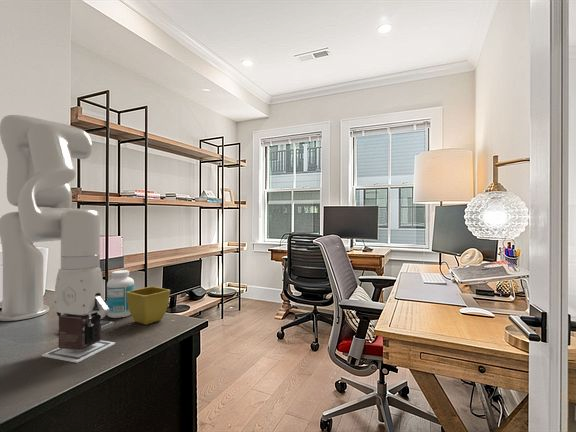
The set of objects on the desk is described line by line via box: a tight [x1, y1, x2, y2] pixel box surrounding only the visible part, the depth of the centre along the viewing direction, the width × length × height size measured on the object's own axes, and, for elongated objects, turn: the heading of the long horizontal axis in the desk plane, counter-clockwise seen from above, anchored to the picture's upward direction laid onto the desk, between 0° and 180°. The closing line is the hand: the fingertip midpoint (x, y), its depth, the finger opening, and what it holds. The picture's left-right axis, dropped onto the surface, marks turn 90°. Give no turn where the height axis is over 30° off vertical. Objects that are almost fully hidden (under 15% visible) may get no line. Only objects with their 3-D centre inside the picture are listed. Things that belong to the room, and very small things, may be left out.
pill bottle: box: [106, 269, 135, 319], centre depth 96 cm, size 8×7×14 cm
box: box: [58, 310, 102, 350], centre depth 72 cm, size 6×6×7 cm
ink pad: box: [57, 320, 115, 335], centre depth 84 cm, size 9×9×1 cm
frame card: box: [41, 339, 116, 363], centre depth 72 cm, size 10×10×1 cm
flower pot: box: [126, 285, 171, 325], centre depth 91 cm, size 9×9×9 cm
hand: (80, 339), depth 72 cm, fingers closed on box, 6 cm apart
